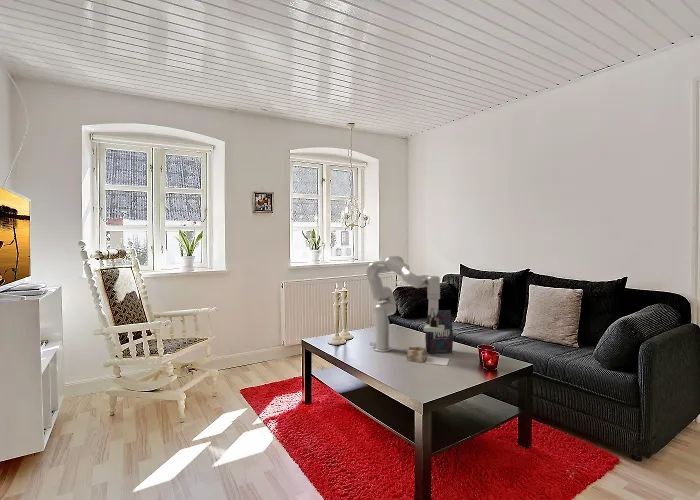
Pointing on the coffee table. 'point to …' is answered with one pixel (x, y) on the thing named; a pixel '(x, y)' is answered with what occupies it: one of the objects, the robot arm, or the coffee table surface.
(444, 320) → the dark patterned coffee bag
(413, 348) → the box
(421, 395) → the coffee table surface
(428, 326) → the lid
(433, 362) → the mat
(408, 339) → the coffee table surface
